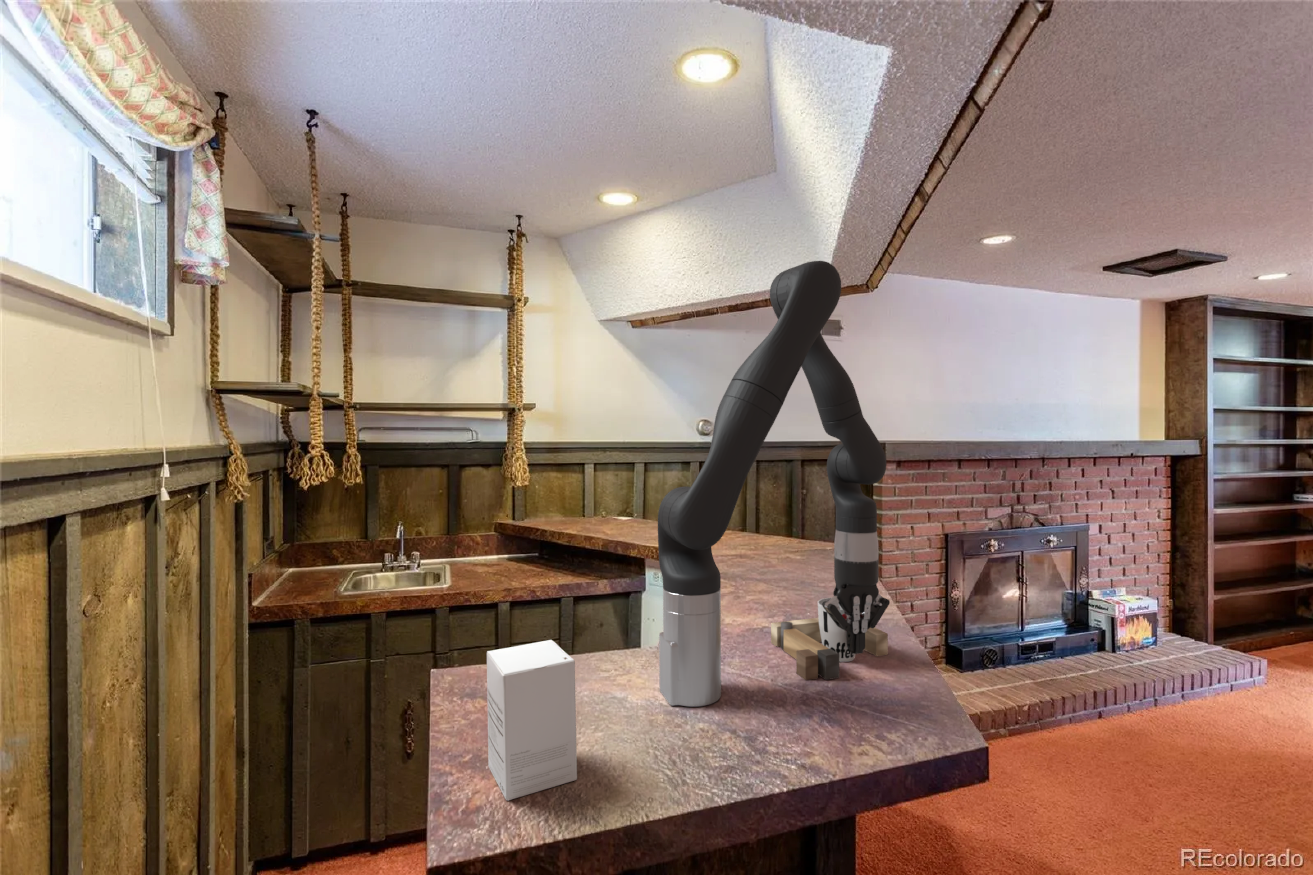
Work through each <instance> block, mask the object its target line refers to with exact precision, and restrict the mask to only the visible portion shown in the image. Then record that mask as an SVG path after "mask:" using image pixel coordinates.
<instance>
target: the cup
mask: <svg viewBox="0 0 1313 875" xmlns="http://www.w3.org/2000/svg"><path fill="white" fill-rule="evenodd" d="M831 598H832V597H826V598H820V599H819V600H817V615H818V616H817V618H818V619H819V628H820V634H821V640H822V642H821V644H822V645H824V646H826V647H827V648H829V649H832V650H834V651H835V652H837V653H839V663H840V662H841V663H845V662H846V663H847V662H852V661H854V660H855V658H856V655H857V654H854V653H852V652H850V650H849V649H848V647H847V631H845V630H843V629H841V628H839V627H838V626H837V625H836V624H835V622H834V621H833V620H832V618H831V617H830V616H829V614H828V613H827V612H826V610H825V609H824V608H823V606H822V603H823V602H824V601H827V602H828V601H829V600H830V599H831ZM838 604H839V603H838ZM839 608H840V610H839V612H840V613H841V614H842V616H843V617H844V618H845V616H844V610H843V609H842V608H841V606H840V605H839ZM845 612H846V611H845Z"/></svg>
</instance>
